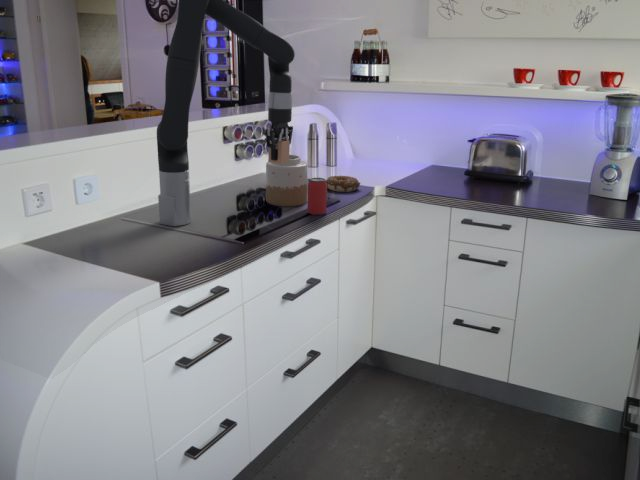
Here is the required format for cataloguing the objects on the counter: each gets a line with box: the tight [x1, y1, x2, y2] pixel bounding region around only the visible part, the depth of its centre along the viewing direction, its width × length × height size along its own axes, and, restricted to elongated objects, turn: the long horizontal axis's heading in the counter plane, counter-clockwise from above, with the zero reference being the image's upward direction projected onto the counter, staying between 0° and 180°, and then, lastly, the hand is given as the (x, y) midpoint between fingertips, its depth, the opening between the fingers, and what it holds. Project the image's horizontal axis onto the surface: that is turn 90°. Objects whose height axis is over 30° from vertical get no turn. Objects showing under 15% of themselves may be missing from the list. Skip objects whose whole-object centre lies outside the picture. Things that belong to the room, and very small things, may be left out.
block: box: [267, 140, 291, 164], centre depth 198 cm, size 5×5×7 cm
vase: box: [265, 154, 309, 207], centre depth 222 cm, size 15×15×17 cm
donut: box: [326, 175, 361, 193], centre depth 245 cm, size 14×14×5 cm
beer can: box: [307, 177, 328, 216], centre depth 209 cm, size 7×7×12 cm
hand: (278, 158), depth 199 cm, fingers closed on block, 5 cm apart
